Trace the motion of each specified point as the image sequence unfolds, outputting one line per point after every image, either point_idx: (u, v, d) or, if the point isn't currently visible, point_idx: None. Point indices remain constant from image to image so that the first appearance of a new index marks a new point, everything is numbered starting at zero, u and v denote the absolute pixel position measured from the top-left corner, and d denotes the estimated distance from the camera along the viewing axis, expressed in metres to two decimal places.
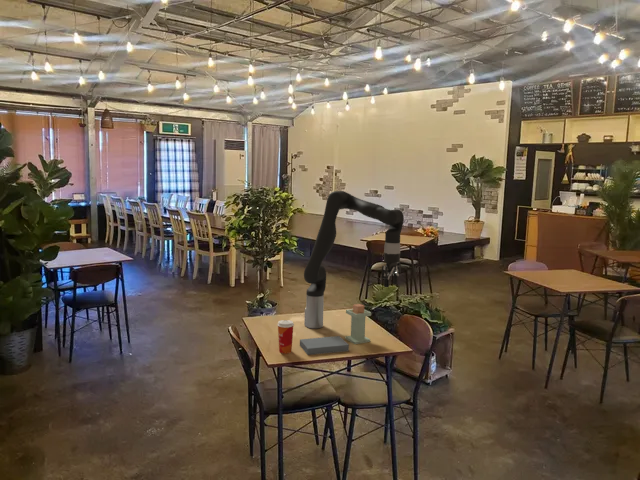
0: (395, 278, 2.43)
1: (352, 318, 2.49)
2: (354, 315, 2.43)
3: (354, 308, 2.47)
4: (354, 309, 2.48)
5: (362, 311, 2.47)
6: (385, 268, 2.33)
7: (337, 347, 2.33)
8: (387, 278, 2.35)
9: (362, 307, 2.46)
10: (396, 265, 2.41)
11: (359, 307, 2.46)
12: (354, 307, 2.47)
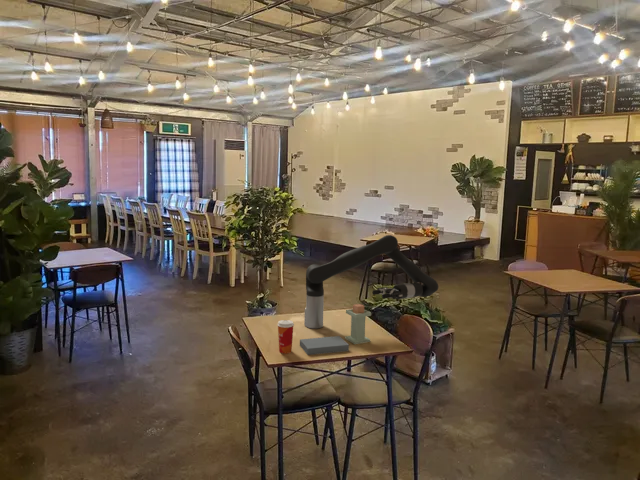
0: (377, 292, 2.57)
1: (352, 318, 2.49)
2: (354, 315, 2.43)
3: (354, 308, 2.47)
4: (354, 309, 2.48)
5: (362, 311, 2.47)
6: (401, 296, 2.50)
7: (337, 347, 2.33)
8: (391, 297, 2.50)
9: (362, 307, 2.46)
10: None
11: (359, 307, 2.46)
12: (354, 307, 2.47)
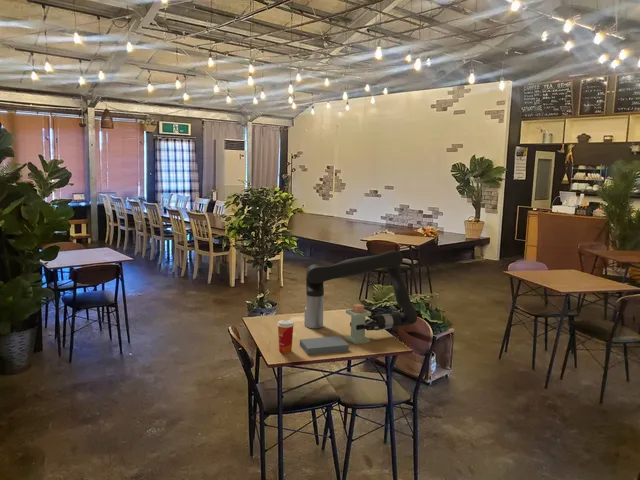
0: None
1: (352, 318, 2.49)
2: (354, 315, 2.43)
3: (354, 308, 2.47)
4: (354, 309, 2.47)
5: (362, 311, 2.47)
6: (376, 328, 2.46)
7: (337, 347, 2.33)
8: (365, 329, 2.47)
9: (362, 307, 2.46)
10: None
11: (359, 307, 2.46)
12: (354, 307, 2.47)
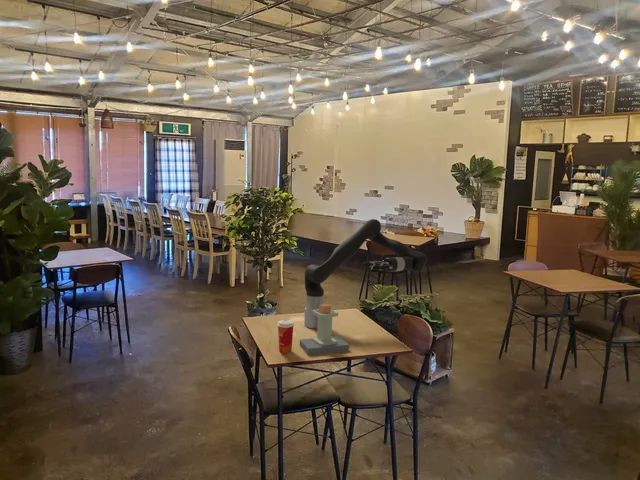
0: (368, 265, 2.61)
1: (318, 319, 2.36)
2: (320, 315, 2.30)
3: (320, 308, 2.34)
4: (320, 309, 2.35)
5: (328, 311, 2.34)
6: (391, 268, 2.55)
7: (337, 347, 2.33)
8: (381, 269, 2.54)
9: (328, 307, 2.34)
10: None
11: (325, 307, 2.33)
12: (320, 307, 2.35)
